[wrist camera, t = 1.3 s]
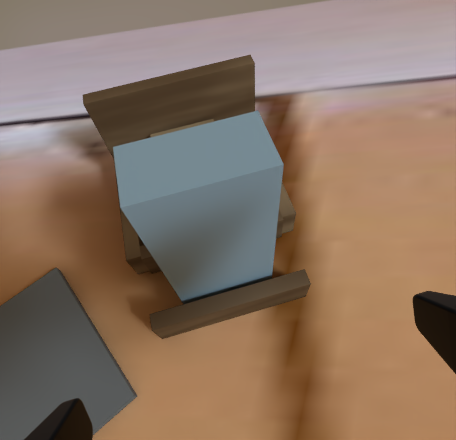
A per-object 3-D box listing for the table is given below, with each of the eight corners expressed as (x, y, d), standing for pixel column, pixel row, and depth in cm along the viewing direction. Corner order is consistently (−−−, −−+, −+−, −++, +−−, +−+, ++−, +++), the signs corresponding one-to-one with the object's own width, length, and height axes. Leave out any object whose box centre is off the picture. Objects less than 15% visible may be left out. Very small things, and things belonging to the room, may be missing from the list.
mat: (137, 396, 20) (134, 395, 20) (-41, 552, 17) (-50, 556, 17) (60, 270, 25) (56, 267, 24) (-90, 375, 22) (-99, 374, 21)
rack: (319, 292, 23) (346, 238, 16) (147, 343, 22) (96, 309, 15) (251, 136, 30) (250, 54, 24) (123, 169, 30) (82, 94, 23)
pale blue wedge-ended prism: (270, 285, 23) (283, 164, 12) (187, 309, 23) (120, 207, 12) (257, 248, 25) (257, 110, 14) (179, 270, 24) (112, 147, 13)
